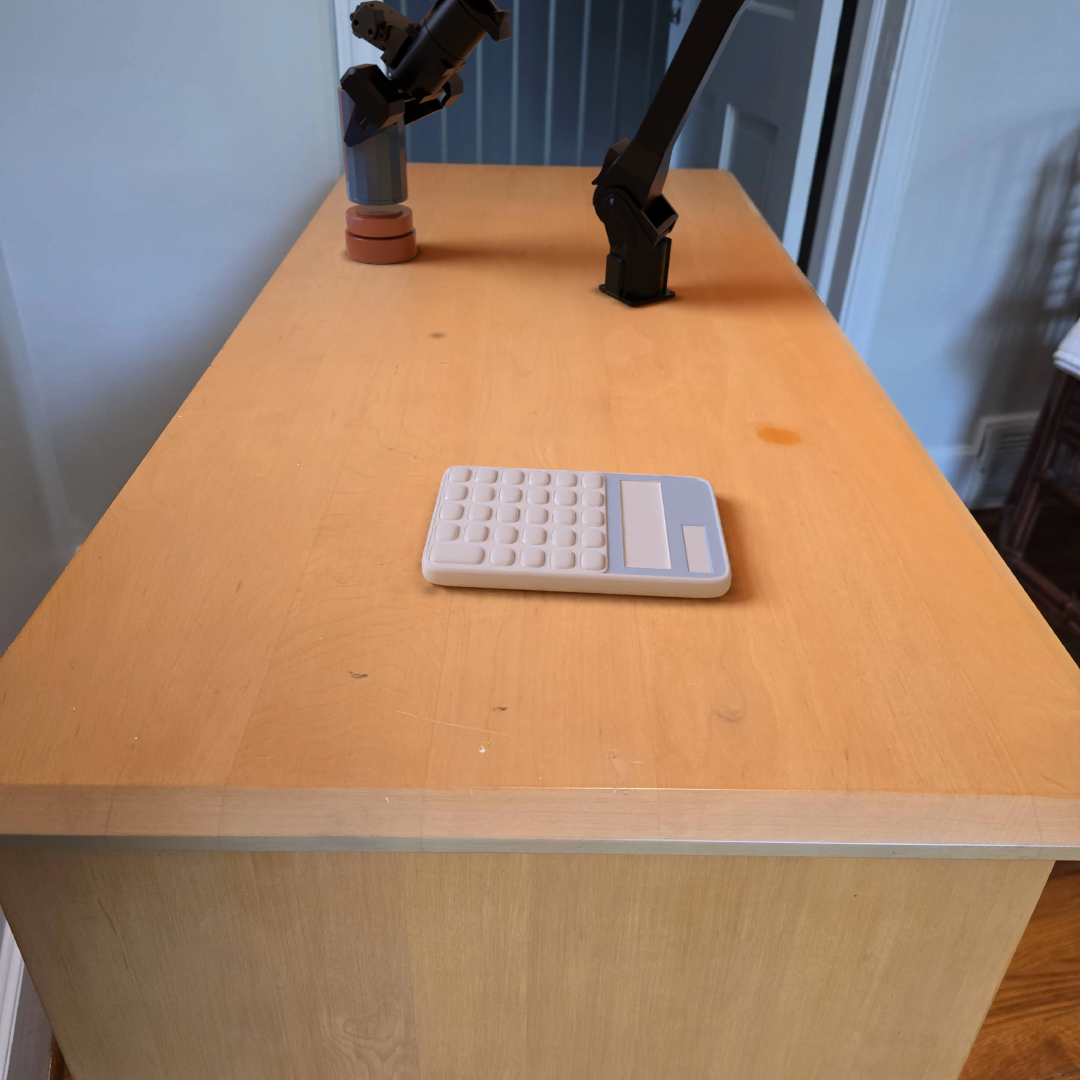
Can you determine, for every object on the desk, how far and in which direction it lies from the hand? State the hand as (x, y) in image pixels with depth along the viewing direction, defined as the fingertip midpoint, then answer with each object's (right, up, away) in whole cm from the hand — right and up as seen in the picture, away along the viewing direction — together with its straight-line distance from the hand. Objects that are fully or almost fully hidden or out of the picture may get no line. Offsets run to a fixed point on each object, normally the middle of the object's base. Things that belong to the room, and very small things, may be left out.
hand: (364, 137), depth 109 cm
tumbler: (+1, -6, +3) cm, 7 cm away
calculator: (+23, -47, -44) cm, 68 cm away
